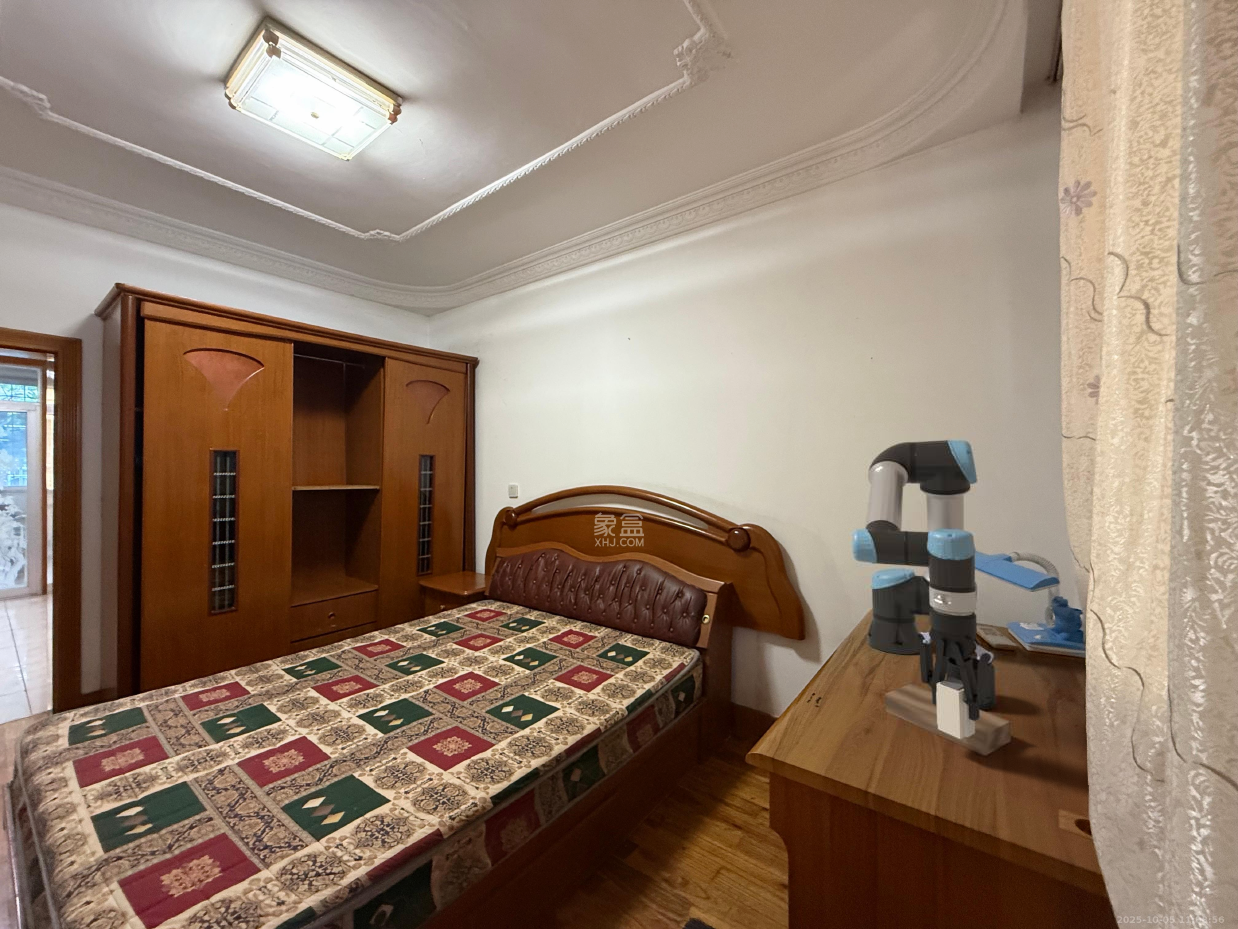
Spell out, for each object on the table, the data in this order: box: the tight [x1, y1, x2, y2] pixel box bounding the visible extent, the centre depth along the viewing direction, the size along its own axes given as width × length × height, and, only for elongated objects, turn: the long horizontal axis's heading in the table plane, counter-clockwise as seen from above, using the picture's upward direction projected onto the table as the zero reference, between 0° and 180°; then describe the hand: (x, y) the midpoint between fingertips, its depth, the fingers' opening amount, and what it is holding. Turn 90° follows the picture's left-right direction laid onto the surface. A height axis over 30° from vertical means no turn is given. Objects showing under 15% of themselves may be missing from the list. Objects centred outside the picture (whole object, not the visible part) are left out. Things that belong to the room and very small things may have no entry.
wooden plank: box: [884, 683, 1012, 757], centre depth 105 cm, size 10×20×4 cm, turn 28°
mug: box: [945, 656, 997, 711], centre depth 116 cm, size 9×12×9 cm
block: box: [937, 677, 967, 739], centre depth 95 cm, size 5×4×9 cm
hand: (955, 728), depth 95 cm, fingers closed on block, 4 cm apart
